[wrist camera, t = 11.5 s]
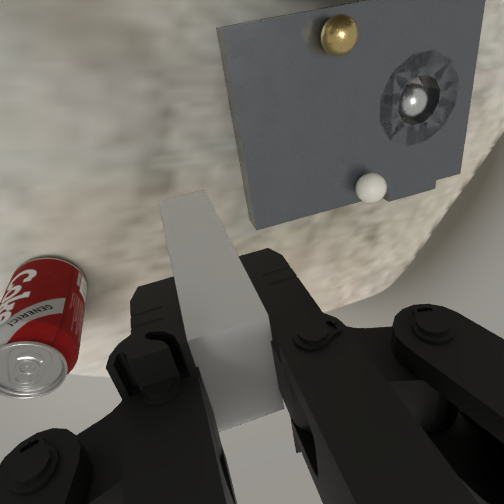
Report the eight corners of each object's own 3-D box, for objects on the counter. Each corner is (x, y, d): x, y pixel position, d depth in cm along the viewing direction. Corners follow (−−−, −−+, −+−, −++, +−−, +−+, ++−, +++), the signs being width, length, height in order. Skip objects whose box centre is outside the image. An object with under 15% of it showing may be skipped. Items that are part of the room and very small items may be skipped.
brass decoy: (313, 18, 31) (330, 17, 29) (347, 11, 32) (366, 9, 29) (315, 59, 33) (331, 61, 30) (347, 52, 33) (366, 54, 31)
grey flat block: (251, 228, 42) (258, 238, 40) (213, 13, 31) (220, 12, 29) (443, 174, 46) (458, 181, 44) (468, -33, 35) (490, -37, 33)
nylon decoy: (349, 172, 39) (365, 182, 36) (376, 165, 39) (393, 175, 37) (350, 199, 41) (365, 211, 38) (375, 192, 41) (392, 203, 39)
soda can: (96, 264, 39) (87, 345, 29) (77, 316, 41) (63, 408, 31) (21, 245, 36) (-19, 329, 26) (5, 303, 38) (-37, 400, 28)
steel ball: (402, 88, 36) (436, 83, 36) (388, 84, 38) (419, 79, 39) (400, 123, 37) (432, 118, 37) (387, 117, 40) (416, 112, 40)
